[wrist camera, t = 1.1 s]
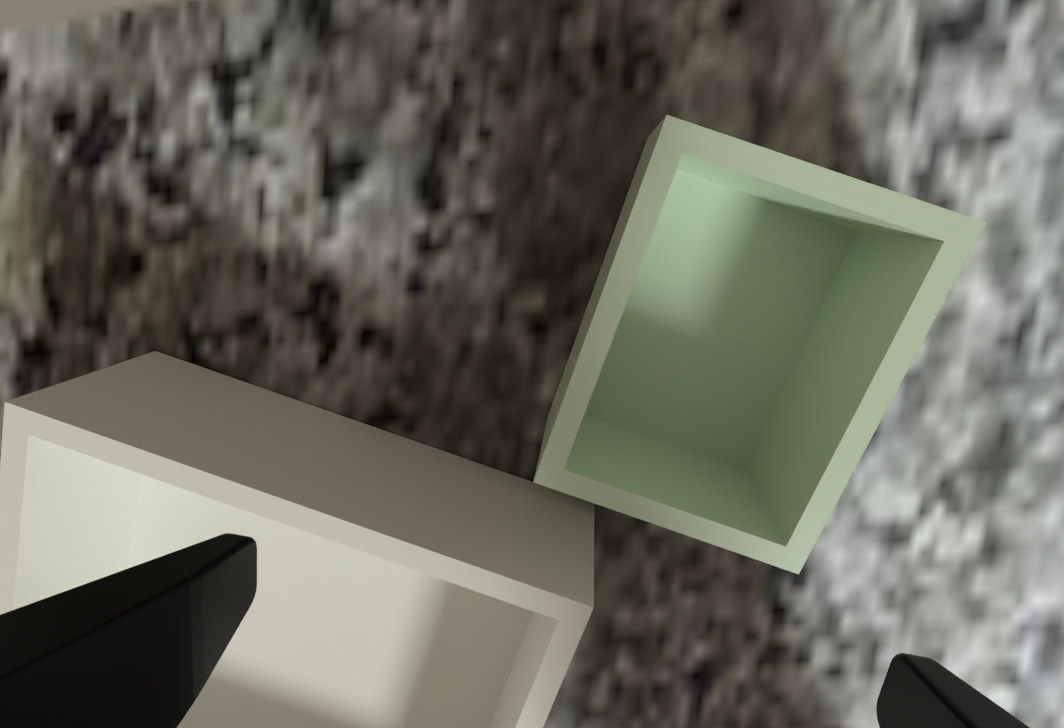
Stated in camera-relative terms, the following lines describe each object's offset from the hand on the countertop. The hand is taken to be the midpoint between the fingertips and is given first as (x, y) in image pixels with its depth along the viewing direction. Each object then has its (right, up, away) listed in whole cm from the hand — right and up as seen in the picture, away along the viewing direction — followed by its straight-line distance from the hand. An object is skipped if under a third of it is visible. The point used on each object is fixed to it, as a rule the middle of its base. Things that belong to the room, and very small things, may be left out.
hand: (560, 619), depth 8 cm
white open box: (-8, -6, +14) cm, 18 cm away
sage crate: (+5, +5, +10) cm, 12 cm away
